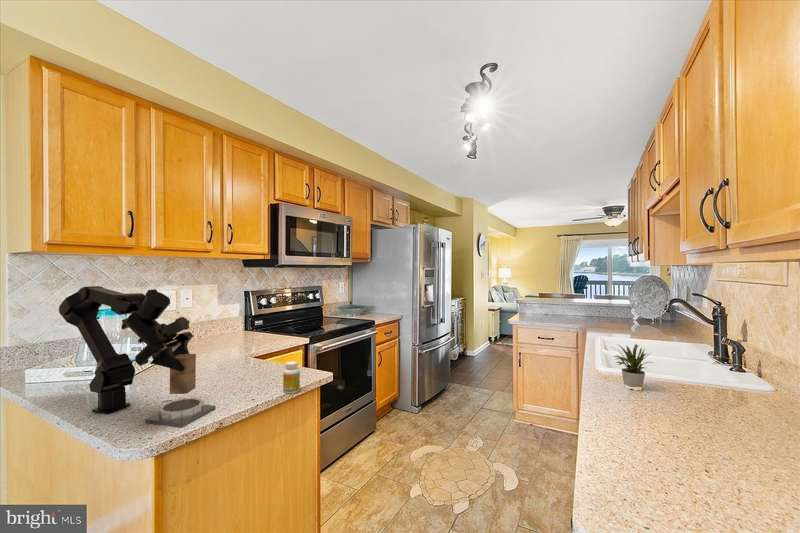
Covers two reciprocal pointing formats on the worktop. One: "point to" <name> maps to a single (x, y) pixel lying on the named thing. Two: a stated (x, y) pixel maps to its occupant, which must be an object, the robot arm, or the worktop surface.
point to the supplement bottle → (291, 377)
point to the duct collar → (180, 412)
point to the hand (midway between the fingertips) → (188, 367)
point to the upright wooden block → (183, 375)
